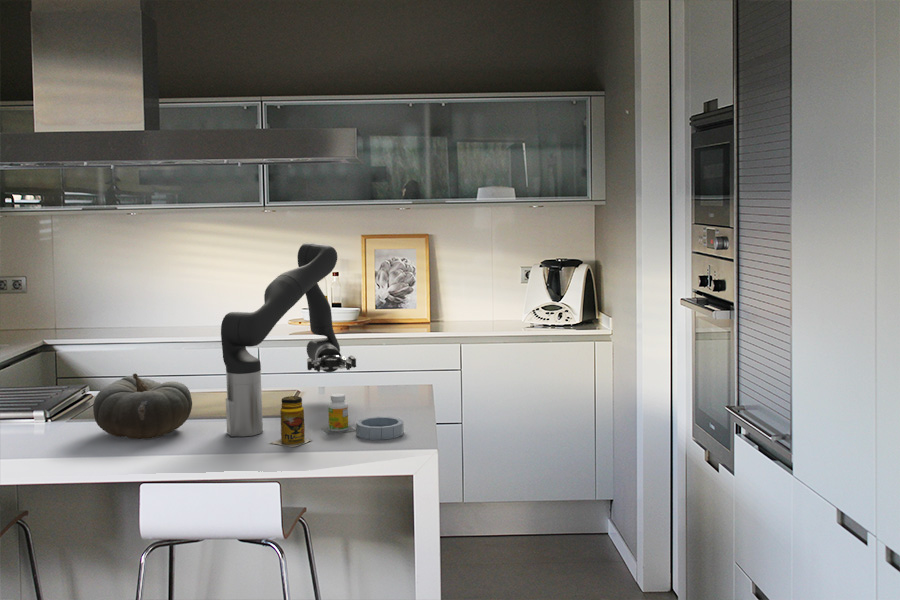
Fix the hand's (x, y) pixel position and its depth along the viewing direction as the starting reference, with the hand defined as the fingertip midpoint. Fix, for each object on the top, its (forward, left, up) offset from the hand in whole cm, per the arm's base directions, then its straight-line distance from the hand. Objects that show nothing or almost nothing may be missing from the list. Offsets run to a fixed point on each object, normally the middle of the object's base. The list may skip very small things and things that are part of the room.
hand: (333, 367), depth 247 cm
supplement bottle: (-2, -11, -16) cm, 19 cm away
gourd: (-51, +9, -16) cm, 54 cm away
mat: (-2, -11, -16) cm, 19 cm away
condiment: (-17, -18, -16) cm, 30 cm away
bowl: (+7, -20, -16) cm, 26 cm away
